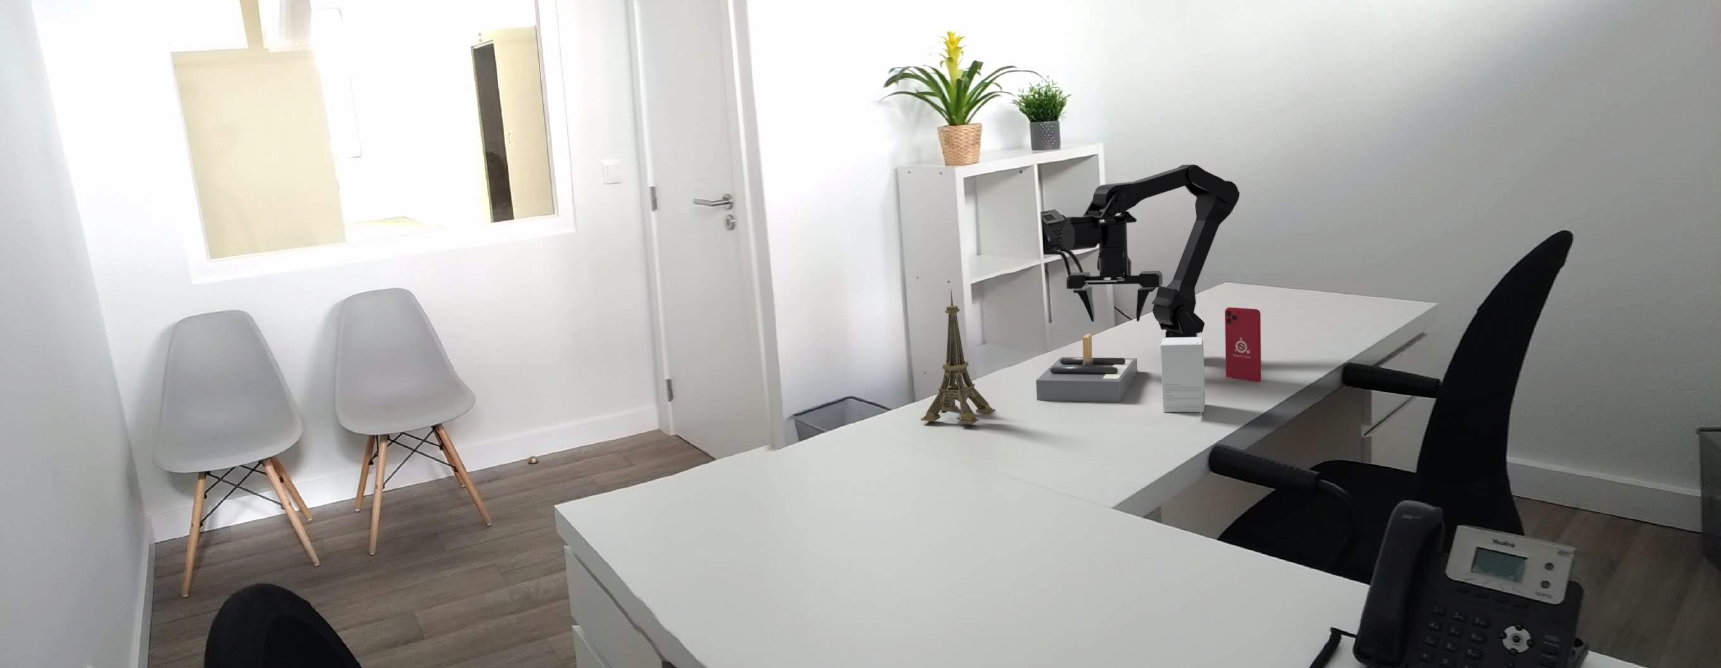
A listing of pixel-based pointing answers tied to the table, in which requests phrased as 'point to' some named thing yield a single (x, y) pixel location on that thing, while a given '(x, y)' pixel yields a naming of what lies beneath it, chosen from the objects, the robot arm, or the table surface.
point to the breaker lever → (1087, 351)
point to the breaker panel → (1087, 380)
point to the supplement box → (1183, 374)
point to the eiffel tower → (956, 379)
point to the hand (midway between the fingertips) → (1115, 321)
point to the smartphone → (1243, 343)
